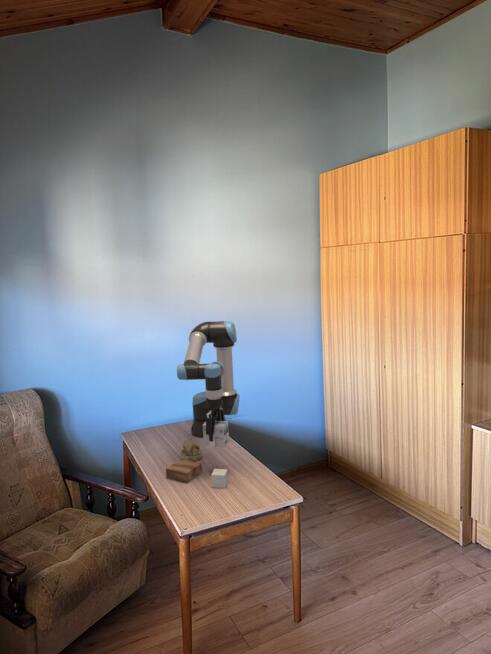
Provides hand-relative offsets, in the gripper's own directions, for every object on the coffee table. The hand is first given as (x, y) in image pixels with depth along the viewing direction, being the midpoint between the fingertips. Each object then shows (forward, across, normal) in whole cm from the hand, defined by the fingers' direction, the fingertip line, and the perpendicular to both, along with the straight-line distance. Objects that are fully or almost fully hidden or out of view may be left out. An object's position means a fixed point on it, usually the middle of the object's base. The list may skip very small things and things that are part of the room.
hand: (216, 443), depth 236 cm
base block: (+14, +10, -13) cm, 21 cm away
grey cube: (+14, +12, +7) cm, 19 cm away
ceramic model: (+14, -11, -21) cm, 28 cm away
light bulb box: (+1, 0, 0) cm, 1 cm away
